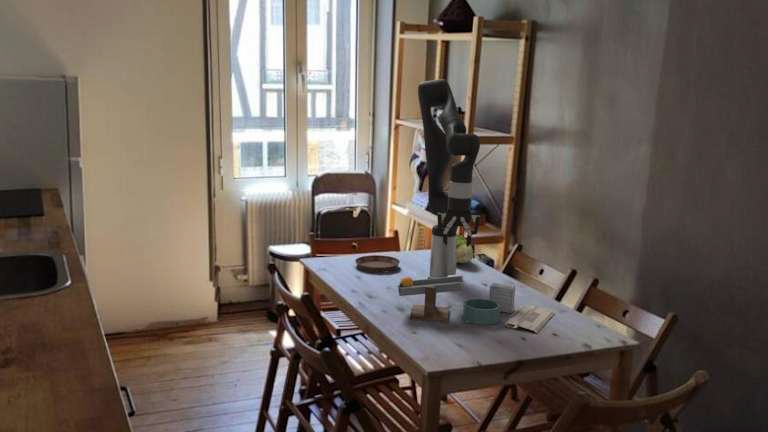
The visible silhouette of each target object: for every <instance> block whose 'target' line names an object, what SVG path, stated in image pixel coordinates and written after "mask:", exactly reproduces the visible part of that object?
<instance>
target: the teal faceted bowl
mask: <svg viewBox="0 0 768 432" xmlns="http://www.w3.org/2000/svg"><path fill="white" fill-rule="evenodd" d="M462 306H463V307H462V308H463V309H462V318H463V320H464V322H467V321H468V322H467V323H469V322H470V323H469V324H472V323H473V324H472V325H477V324H482V325H481V326H489V325H488V324H493V325H495V323H496V324H498V323H499V322H500V318H501V312H500V305H499V303H498V302H495V301H492V300H490V299H489V298H479V297H478V298H477V297H476V298H468V299H466V300H465V301H463V305H462ZM498 321H499V322H498Z"/></svg>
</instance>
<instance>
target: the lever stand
mask: <svg viewBox="0 0 768 432" xmlns="http://www.w3.org/2000/svg"><path fill="white" fill-rule="evenodd" d="M432 278H437V277H430V276H427V279H432ZM436 304H437V293H435V287H434V286H426V287H425V294H424V305H420V304H412V307H411V310H410V314H409V320H414V321H415V320H417V321H418V320H419V321H427V322H429V321H430V322H443V323H448V322H447V321H448V319H449V312H450V307H448V306H446V307H445V306H437V305H436Z"/></svg>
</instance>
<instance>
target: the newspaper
mask: <svg viewBox="0 0 768 432" xmlns="http://www.w3.org/2000/svg"><path fill="white" fill-rule="evenodd" d="M555 314H556V312H554V311H553V310H550V309H547V308H543V307H540V306H537V305H536V306H535V305H531V304H524V305H523V306H521V305H519V306H518V307H517V308H516V309H515V310H513V312H512V313H511V315H510V316H509V317H508V319H509V320H508V319H507V320H508V321H506V322H505V323H504V324H503V327H505V328H510V327H511V328H510V329H513V327H514V326H515V325H517V326H519V327H520V328H522V329H523V328H524V329H527V330H530V331H533V332H534V333H535V334H538V333H539V332H540V331H541V330H540V329H543V328H544V327H545V325H546V324H547V323H548V322H549V321H550V320H551V319H552V318H551V317H552V316H553V317H554V316H555ZM550 318H551V319H550ZM549 319H550V320H549ZM506 326H507V327H506Z"/></svg>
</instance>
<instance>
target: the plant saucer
mask: <svg viewBox="0 0 768 432" xmlns="http://www.w3.org/2000/svg"><path fill="white" fill-rule="evenodd" d="M354 262H355V264H356V265H357V267H358V268H359V269H360V270H362V271H365V272H369V273H389V272H392V271H394V270H395V269H397V267H398V266H399V264H400V259H398V258H396V257H393V256H389V255H378V254H377V255H376V254H375V255H374V254H373V255H363V256H360V257H357V258H356V259H355V261H354Z"/></svg>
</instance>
